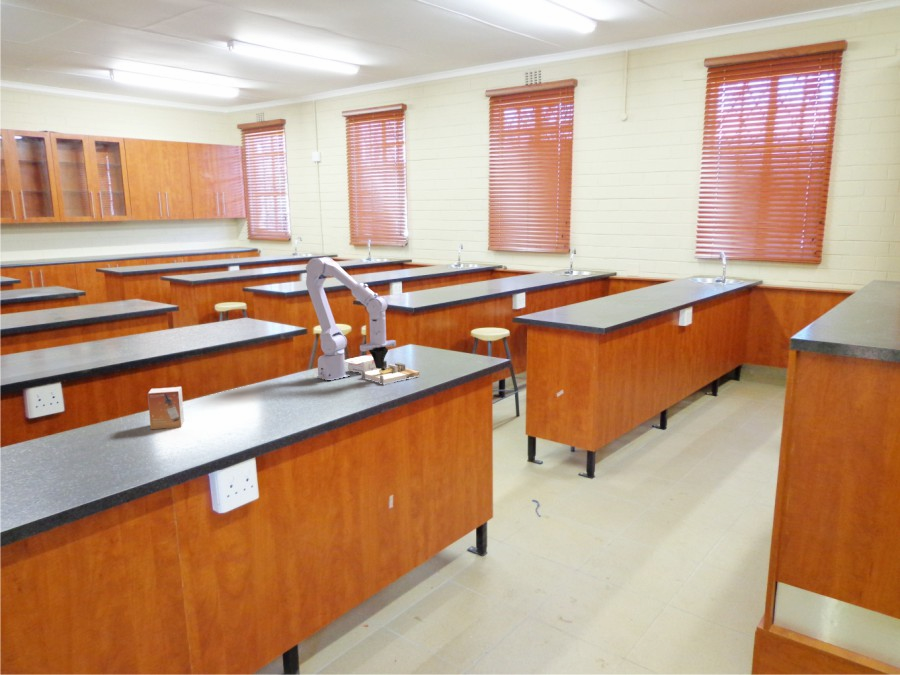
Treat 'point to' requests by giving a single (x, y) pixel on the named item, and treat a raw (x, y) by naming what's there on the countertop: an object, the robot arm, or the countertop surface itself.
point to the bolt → (385, 369)
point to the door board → (384, 375)
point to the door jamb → (406, 370)
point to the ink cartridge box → (361, 363)
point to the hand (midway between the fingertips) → (379, 368)
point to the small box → (166, 407)
